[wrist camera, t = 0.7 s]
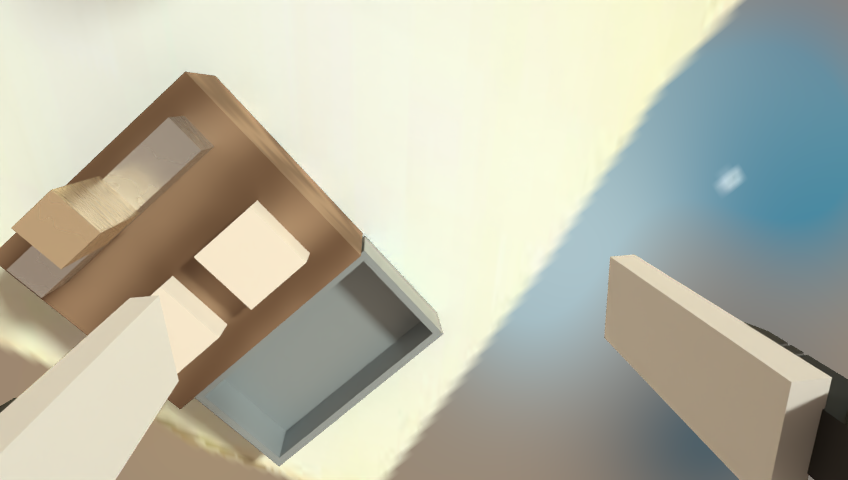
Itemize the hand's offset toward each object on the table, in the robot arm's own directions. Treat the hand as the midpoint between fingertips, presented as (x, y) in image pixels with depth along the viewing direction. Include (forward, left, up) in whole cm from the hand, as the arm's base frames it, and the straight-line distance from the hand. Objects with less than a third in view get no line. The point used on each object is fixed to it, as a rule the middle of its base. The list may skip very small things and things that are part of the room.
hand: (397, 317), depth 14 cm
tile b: (-3, -9, -20) cm, 22 cm away
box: (+7, -13, -26) cm, 30 cm away
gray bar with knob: (-11, -13, -20) cm, 26 cm away
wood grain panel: (-6, -13, -26) cm, 30 cm away
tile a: (-3, -17, -20) cm, 26 cm away
